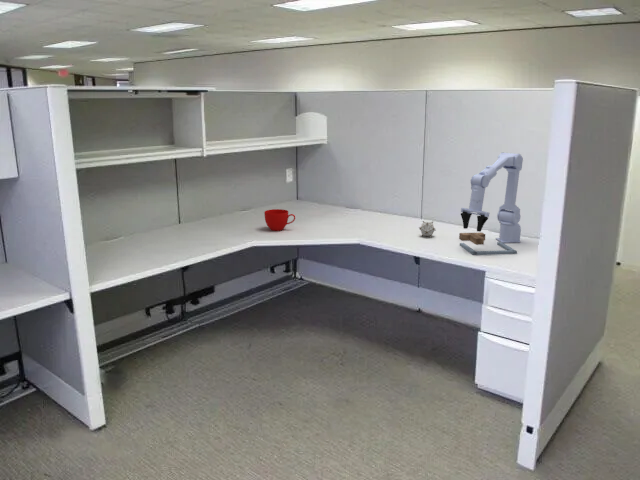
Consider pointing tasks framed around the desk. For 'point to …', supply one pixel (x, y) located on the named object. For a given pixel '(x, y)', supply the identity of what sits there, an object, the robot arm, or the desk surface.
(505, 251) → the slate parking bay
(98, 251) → the desk surface
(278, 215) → the ceramic cup
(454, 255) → the desk surface
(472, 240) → the walnut T-block
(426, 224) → the grey spiky ball
